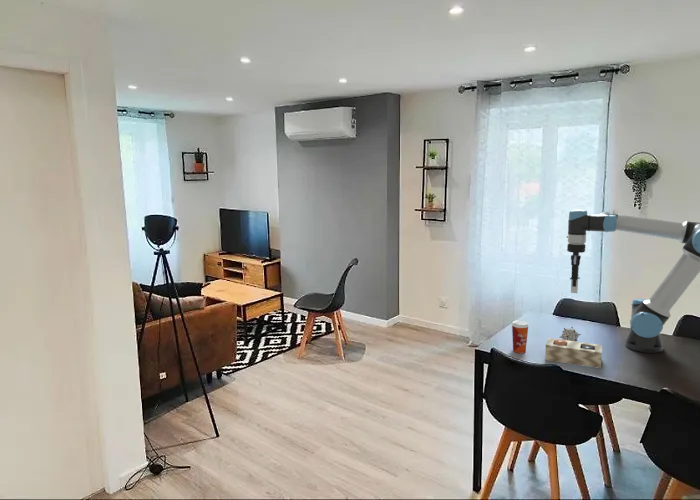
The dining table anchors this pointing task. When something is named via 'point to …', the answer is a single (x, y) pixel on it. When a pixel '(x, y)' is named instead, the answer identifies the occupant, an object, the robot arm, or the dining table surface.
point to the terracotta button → (560, 342)
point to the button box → (574, 353)
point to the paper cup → (519, 336)
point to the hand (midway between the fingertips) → (574, 292)
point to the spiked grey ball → (570, 334)
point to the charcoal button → (587, 347)
